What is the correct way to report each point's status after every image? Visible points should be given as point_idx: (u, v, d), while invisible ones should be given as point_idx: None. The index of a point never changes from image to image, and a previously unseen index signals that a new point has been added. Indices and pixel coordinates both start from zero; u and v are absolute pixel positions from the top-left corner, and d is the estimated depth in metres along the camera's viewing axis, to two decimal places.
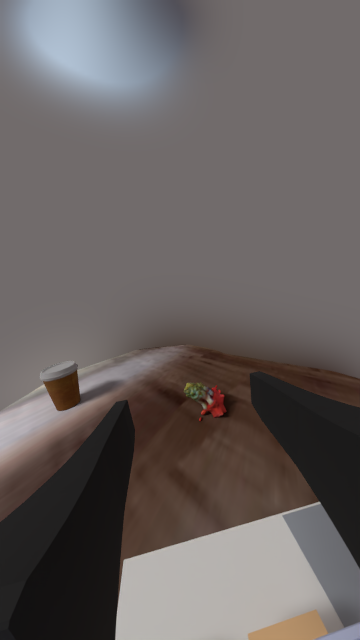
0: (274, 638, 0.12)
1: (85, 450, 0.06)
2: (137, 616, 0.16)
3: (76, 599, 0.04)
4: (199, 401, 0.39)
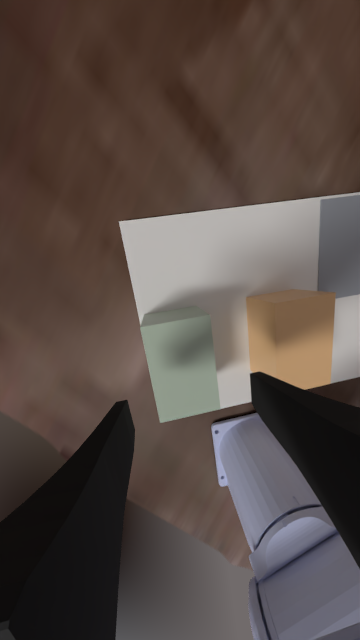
0: (295, 305, 0.14)
1: (85, 450, 0.06)
2: (150, 266, 0.16)
3: (76, 599, 0.04)
4: None
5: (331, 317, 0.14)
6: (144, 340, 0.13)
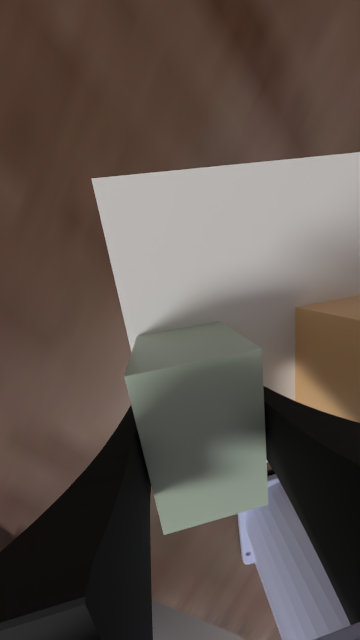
0: None
1: (115, 443, 0.06)
2: (147, 258, 0.10)
3: (125, 583, 0.04)
4: None
5: None
6: (133, 400, 0.06)
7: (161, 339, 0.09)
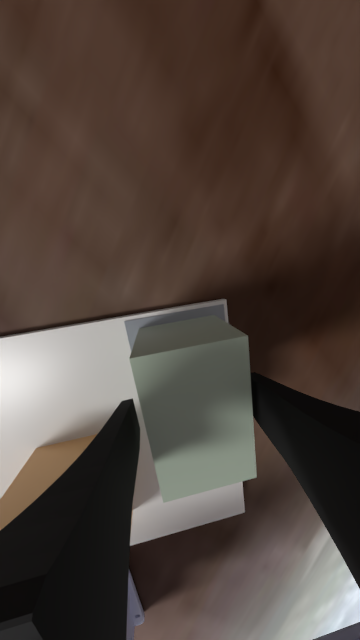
0: None
1: (94, 448, 0.06)
2: None
3: (91, 594, 0.04)
4: None
5: None
6: (137, 380, 0.07)
7: (161, 330, 0.10)
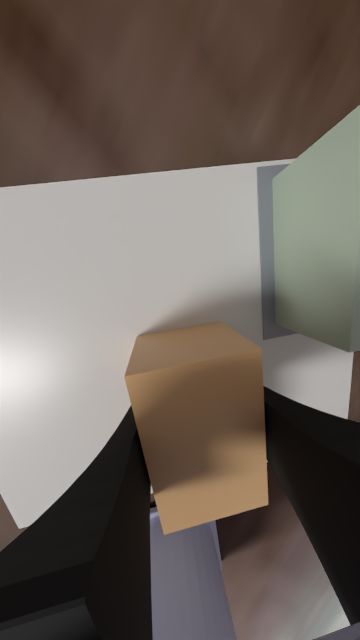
0: (172, 378, 0.06)
1: (115, 443, 0.06)
2: None
3: (125, 583, 0.04)
4: None
5: (257, 395, 0.07)
6: None
7: None
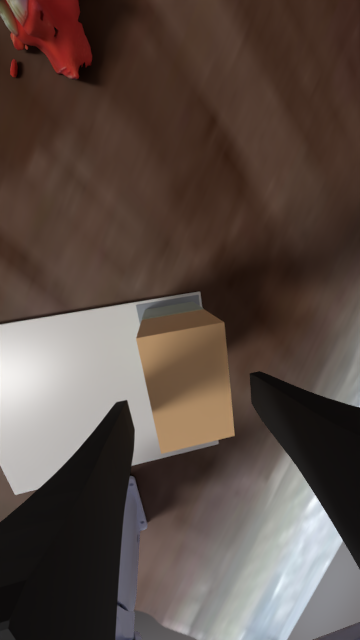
0: (166, 340, 0.10)
1: (85, 450, 0.06)
2: None
3: (76, 599, 0.04)
4: None
5: (223, 354, 0.11)
6: None
7: (158, 309, 0.17)
